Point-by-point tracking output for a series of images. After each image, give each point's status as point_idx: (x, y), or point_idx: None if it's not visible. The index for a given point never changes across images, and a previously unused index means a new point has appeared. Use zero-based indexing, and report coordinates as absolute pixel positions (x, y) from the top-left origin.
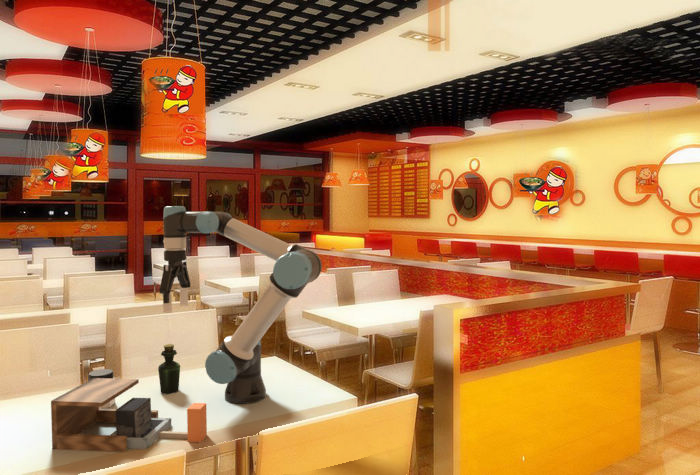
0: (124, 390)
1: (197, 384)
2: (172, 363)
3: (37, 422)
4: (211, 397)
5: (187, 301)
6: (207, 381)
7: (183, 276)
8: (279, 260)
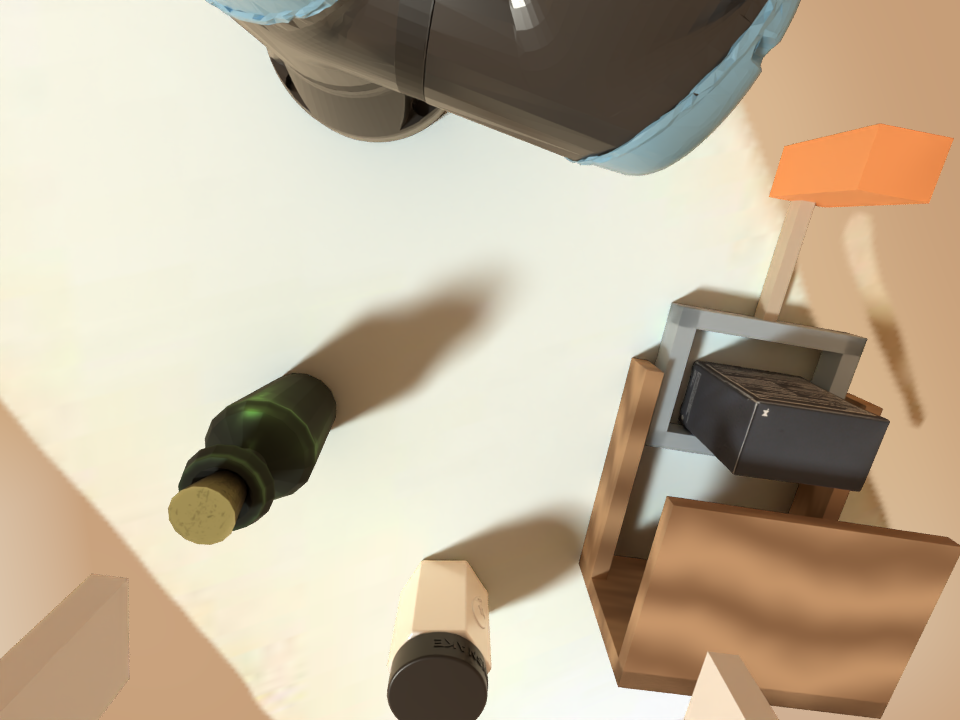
0: (790, 517)
1: (206, 309)
2: (268, 441)
3: (572, 702)
4: (379, 208)
5: (55, 629)
6: (160, 271)
7: None
8: None
